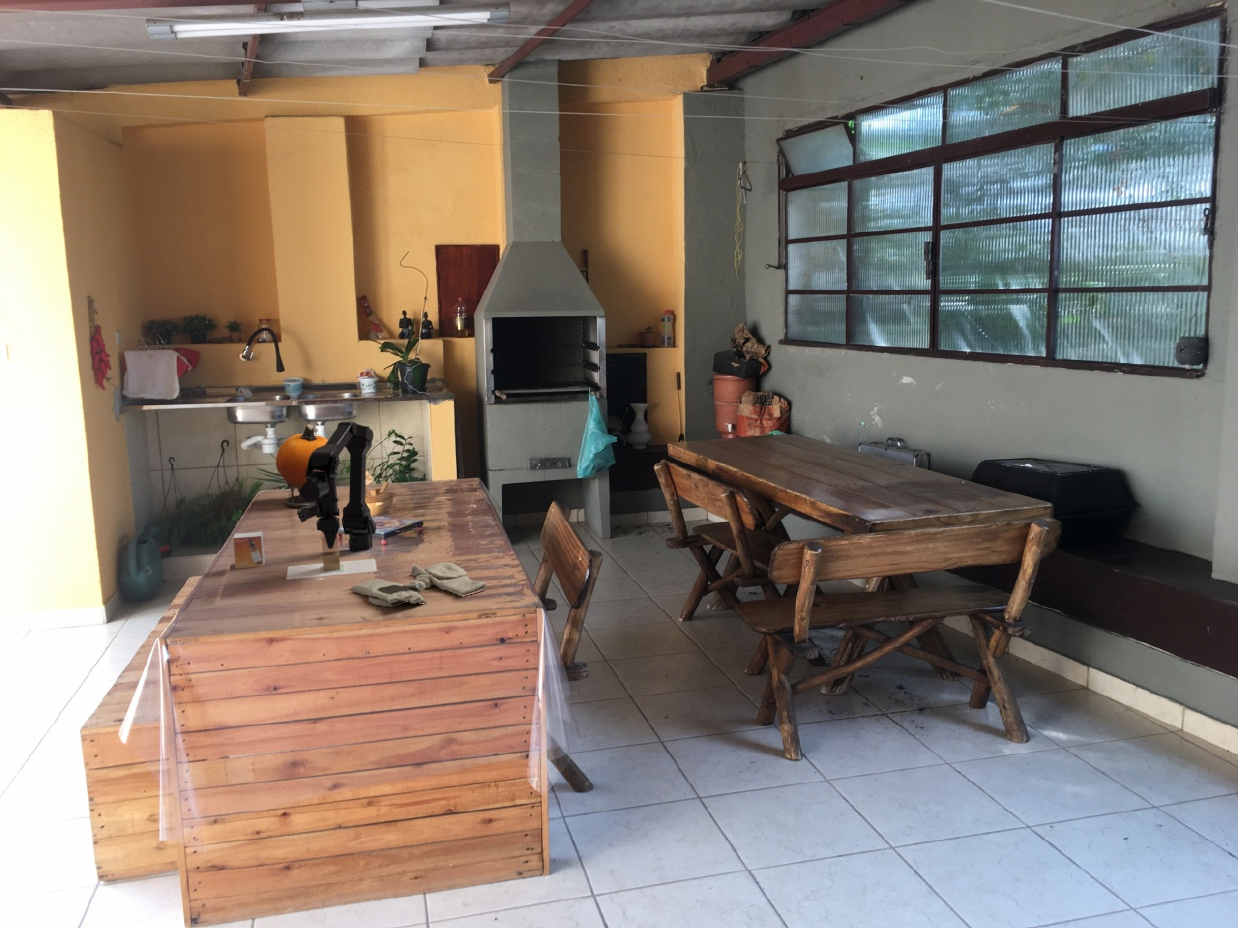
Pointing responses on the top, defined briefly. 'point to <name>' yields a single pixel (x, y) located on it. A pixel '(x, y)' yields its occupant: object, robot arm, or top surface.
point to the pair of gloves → (419, 585)
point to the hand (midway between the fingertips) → (330, 546)
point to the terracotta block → (325, 546)
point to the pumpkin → (297, 462)
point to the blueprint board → (318, 570)
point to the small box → (248, 550)
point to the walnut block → (331, 560)
